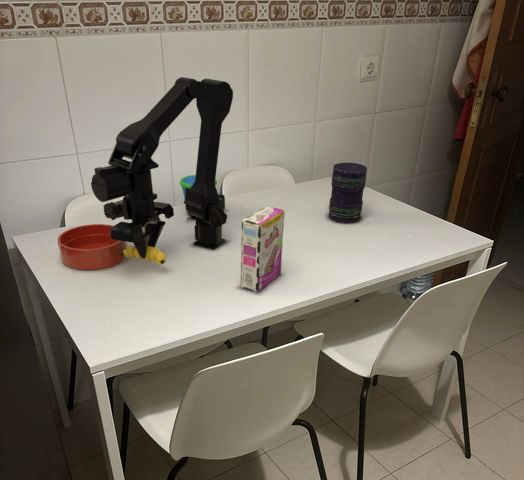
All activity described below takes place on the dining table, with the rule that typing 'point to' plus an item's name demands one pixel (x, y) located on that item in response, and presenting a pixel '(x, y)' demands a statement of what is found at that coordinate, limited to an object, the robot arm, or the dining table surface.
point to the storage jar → (347, 192)
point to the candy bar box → (261, 248)
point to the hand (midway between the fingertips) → (147, 255)
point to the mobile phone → (221, 203)
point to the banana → (151, 255)
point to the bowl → (90, 247)
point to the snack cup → (188, 182)
